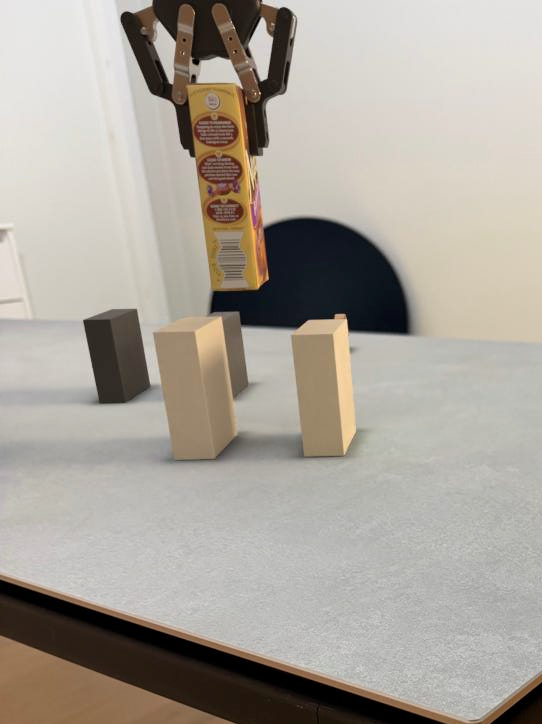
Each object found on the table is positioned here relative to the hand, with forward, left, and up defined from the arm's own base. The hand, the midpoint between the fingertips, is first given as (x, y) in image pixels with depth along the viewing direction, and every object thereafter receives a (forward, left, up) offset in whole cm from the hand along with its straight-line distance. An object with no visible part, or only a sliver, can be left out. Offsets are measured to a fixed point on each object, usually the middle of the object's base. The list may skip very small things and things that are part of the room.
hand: (227, 155), depth 79 cm
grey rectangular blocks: (-15, +24, -24) cm, 37 cm away
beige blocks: (+1, -1, -24) cm, 24 cm away
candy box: (0, 0, -10) cm, 10 cm away
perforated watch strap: (+1, +51, -24) cm, 56 cm away
